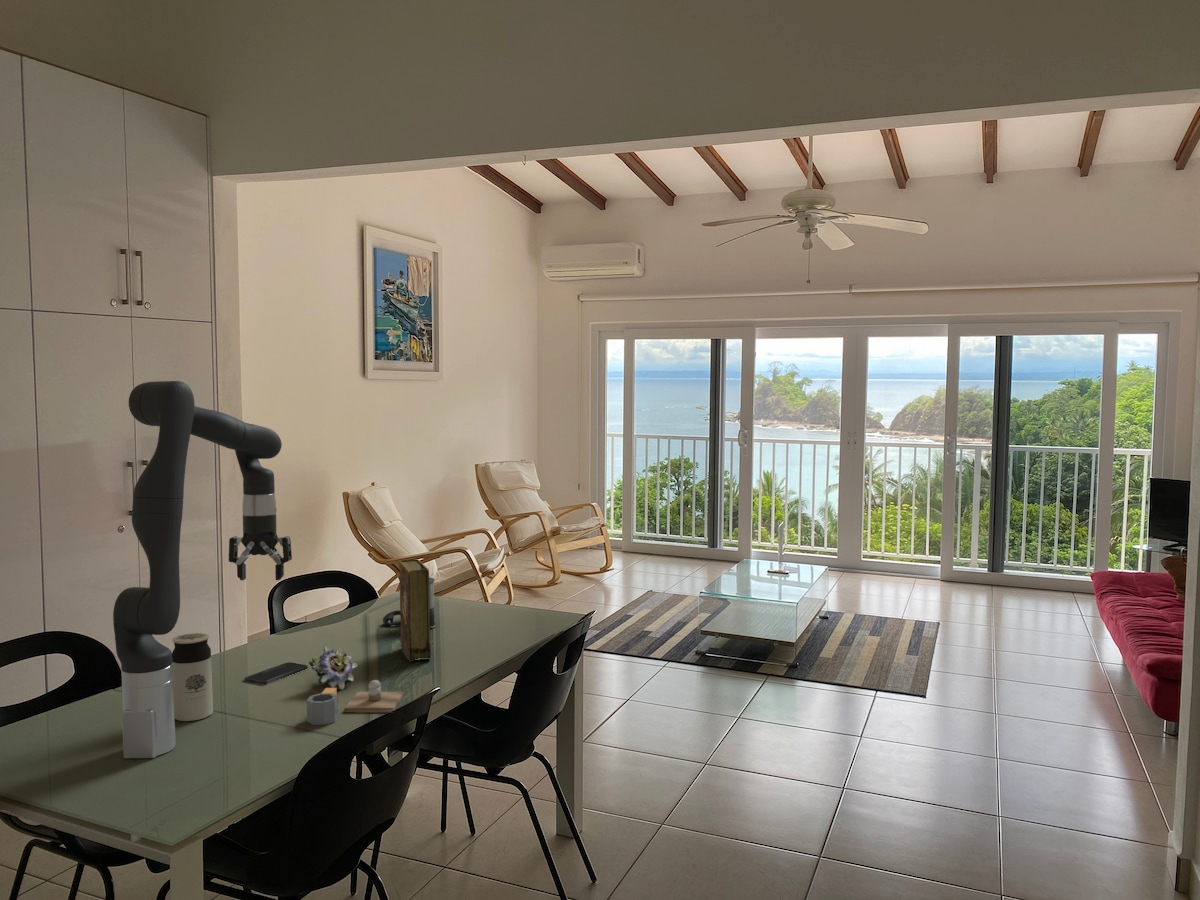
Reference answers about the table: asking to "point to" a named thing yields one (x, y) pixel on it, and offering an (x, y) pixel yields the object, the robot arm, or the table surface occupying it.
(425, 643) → the book
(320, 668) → the passion flower
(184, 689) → the travel mug
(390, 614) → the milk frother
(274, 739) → the table surface
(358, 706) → the base
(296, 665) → the phone
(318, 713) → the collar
